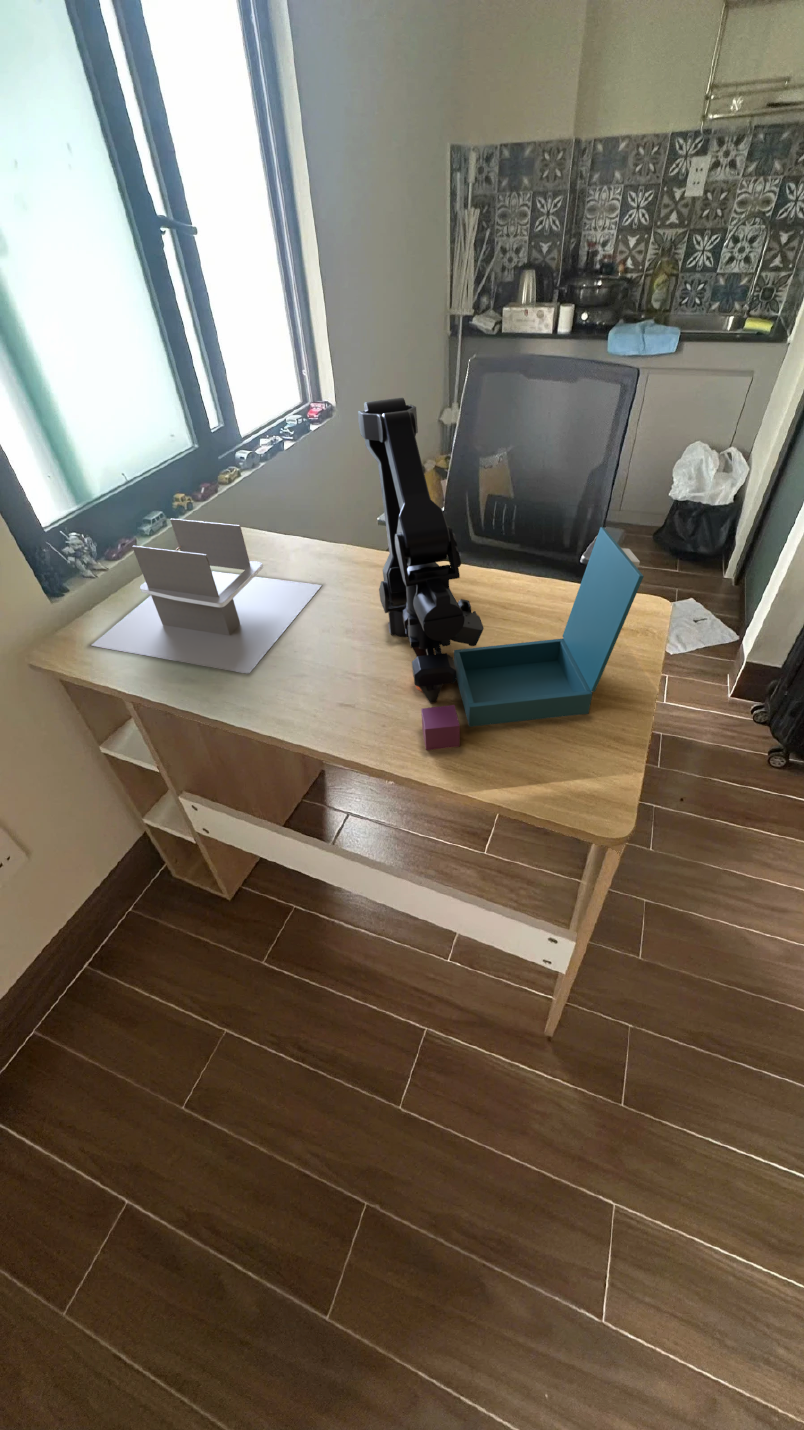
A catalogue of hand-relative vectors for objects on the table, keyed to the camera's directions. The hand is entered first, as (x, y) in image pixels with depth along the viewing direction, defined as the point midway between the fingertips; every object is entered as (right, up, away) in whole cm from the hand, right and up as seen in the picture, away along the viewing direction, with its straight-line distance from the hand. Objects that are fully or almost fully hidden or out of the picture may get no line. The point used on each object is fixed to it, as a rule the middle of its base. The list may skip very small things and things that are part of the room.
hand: (429, 684), depth 99 cm
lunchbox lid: (+24, +10, -12) cm, 29 cm away
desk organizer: (-43, +15, +22) cm, 51 cm away
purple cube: (+1, -9, -9) cm, 13 cm away
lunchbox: (+14, -2, -2) cm, 15 cm away
